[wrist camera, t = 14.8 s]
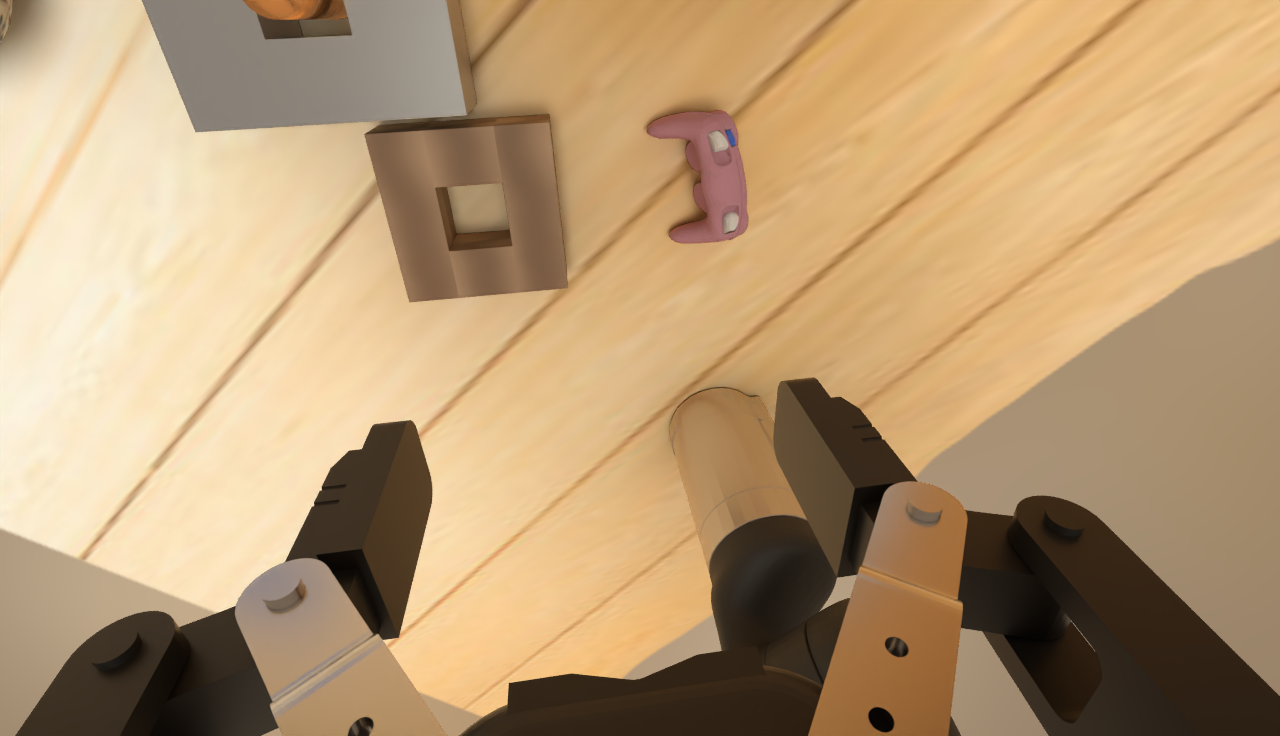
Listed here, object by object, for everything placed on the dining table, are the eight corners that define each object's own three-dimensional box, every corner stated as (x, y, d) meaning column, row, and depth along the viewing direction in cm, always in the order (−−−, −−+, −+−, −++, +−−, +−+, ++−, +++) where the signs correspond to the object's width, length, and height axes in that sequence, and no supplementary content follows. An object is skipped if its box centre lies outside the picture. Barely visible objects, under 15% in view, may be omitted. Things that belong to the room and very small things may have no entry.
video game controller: (707, 224, 50) (766, 238, 45) (666, 245, 48) (721, 261, 43) (686, 102, 45) (749, 101, 40) (638, 120, 43) (698, 121, 38)
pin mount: (549, 114, 43) (549, 122, 39) (566, 269, 49) (567, 287, 45) (379, 124, 41) (364, 134, 38) (419, 282, 48) (409, 302, 44)
